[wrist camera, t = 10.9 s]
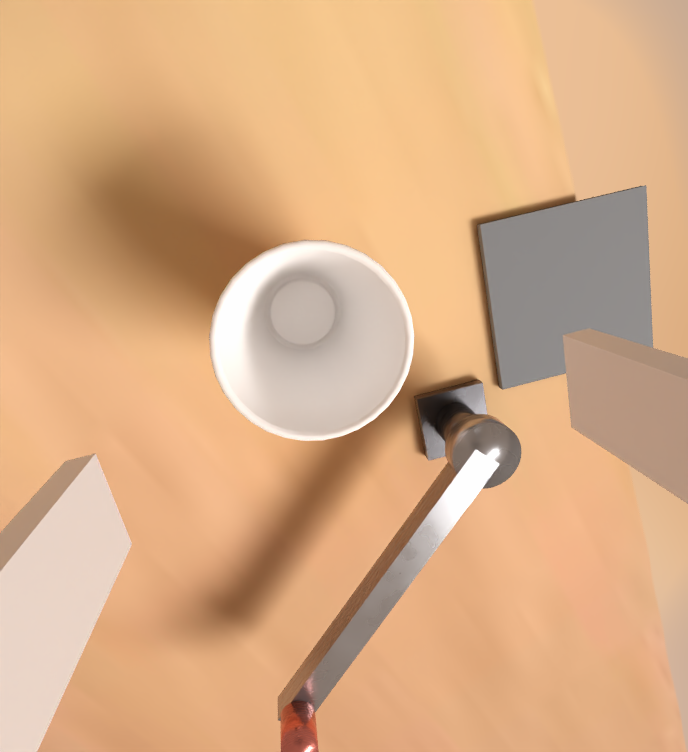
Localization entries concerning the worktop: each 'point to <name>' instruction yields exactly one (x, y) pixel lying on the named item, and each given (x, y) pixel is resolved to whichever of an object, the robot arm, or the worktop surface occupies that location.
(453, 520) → the lever
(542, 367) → the mat
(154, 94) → the worktop surface
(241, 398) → the cup
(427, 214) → the worktop surface
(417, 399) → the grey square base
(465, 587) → the worktop surface
